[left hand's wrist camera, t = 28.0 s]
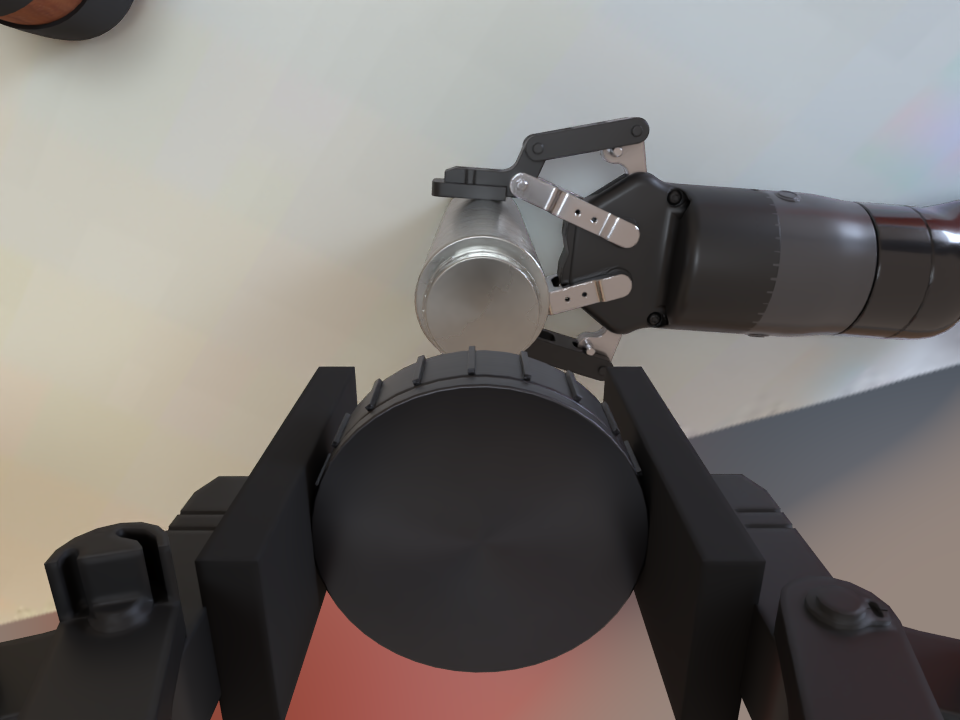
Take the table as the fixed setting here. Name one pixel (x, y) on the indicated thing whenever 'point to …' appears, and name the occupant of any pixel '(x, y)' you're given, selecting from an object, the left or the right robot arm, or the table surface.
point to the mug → (63, 17)
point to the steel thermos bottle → (482, 280)
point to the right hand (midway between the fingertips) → (432, 240)
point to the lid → (480, 513)
